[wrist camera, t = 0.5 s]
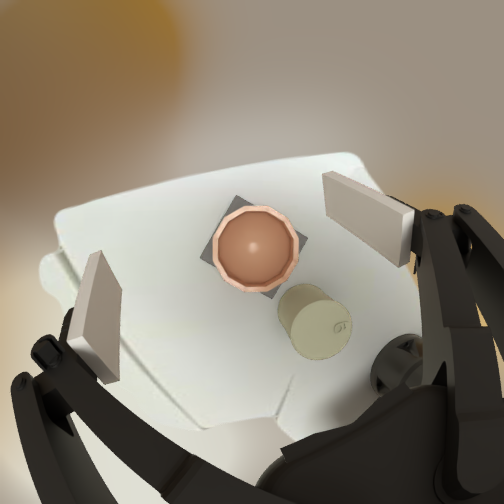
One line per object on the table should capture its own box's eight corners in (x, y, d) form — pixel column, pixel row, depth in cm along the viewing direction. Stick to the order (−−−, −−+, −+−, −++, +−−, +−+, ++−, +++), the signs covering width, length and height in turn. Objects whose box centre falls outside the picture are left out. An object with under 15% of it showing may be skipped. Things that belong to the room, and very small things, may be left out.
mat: (307, 238, 49) (308, 238, 49) (271, 298, 49) (272, 299, 49) (236, 195, 48) (236, 195, 47) (199, 257, 48) (199, 257, 48)
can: (331, 326, 51) (356, 351, 39) (282, 339, 50) (296, 369, 38) (324, 278, 50) (350, 293, 38) (273, 290, 49) (285, 309, 37)
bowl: (308, 233, 49) (313, 234, 45) (268, 301, 49) (270, 306, 46) (240, 192, 47) (240, 189, 44) (199, 262, 48) (197, 264, 44)
